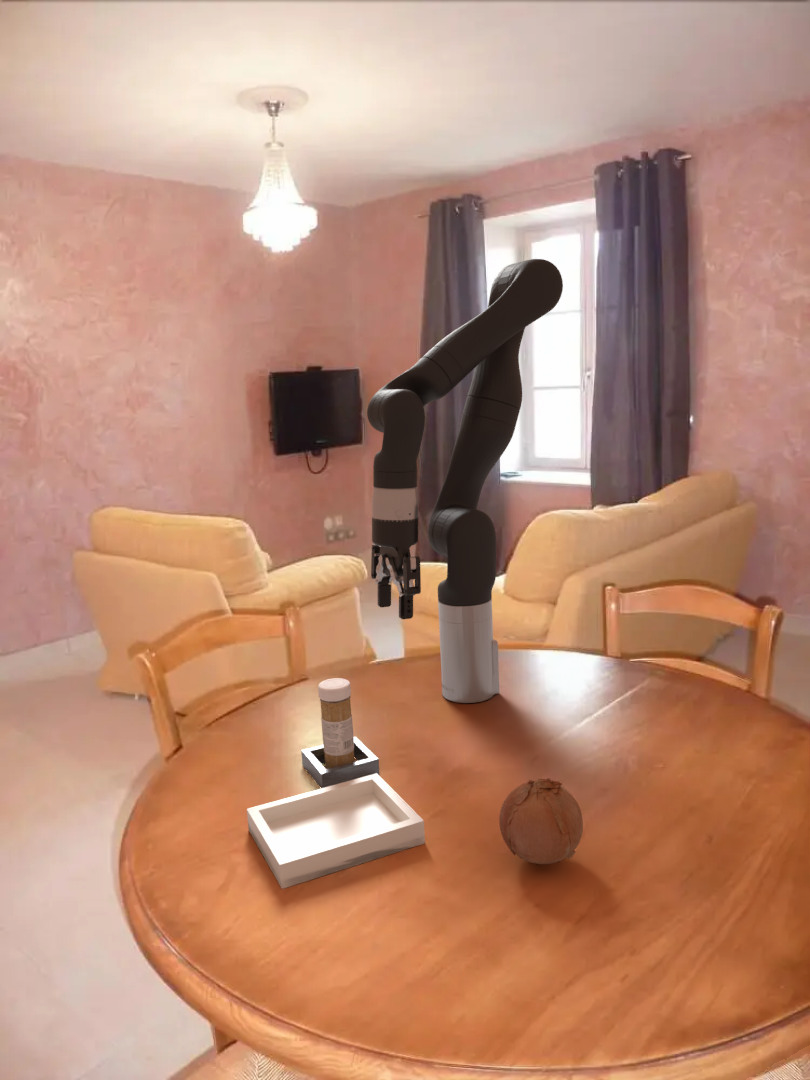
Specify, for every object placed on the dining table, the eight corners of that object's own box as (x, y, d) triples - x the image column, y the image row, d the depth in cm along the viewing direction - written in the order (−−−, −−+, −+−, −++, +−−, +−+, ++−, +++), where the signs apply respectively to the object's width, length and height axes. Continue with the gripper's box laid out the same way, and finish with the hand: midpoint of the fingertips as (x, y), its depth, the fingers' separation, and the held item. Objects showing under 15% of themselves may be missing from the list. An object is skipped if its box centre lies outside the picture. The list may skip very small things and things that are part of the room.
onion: (549, 829, 102) (547, 754, 100) (601, 867, 93) (600, 786, 91) (484, 853, 97) (481, 775, 95) (533, 895, 89) (531, 811, 87)
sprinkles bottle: (344, 760, 123) (338, 674, 120) (362, 770, 119) (356, 682, 117) (318, 770, 120) (311, 683, 117) (336, 781, 116) (329, 691, 114)
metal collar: (356, 751, 125) (355, 736, 125) (379, 775, 118) (378, 758, 117) (302, 765, 122) (301, 750, 121) (322, 790, 114) (321, 774, 114)
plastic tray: (378, 793, 112) (376, 773, 112) (425, 843, 100) (423, 820, 99) (248, 830, 105) (246, 808, 104) (281, 889, 93) (279, 864, 92)
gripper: (436, 519, 129) (434, 620, 131) (397, 508, 141) (397, 600, 144) (392, 522, 126) (391, 625, 128) (356, 510, 138) (357, 605, 141)
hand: (394, 612), depth 136 cm, fingers open, 8 cm apart
